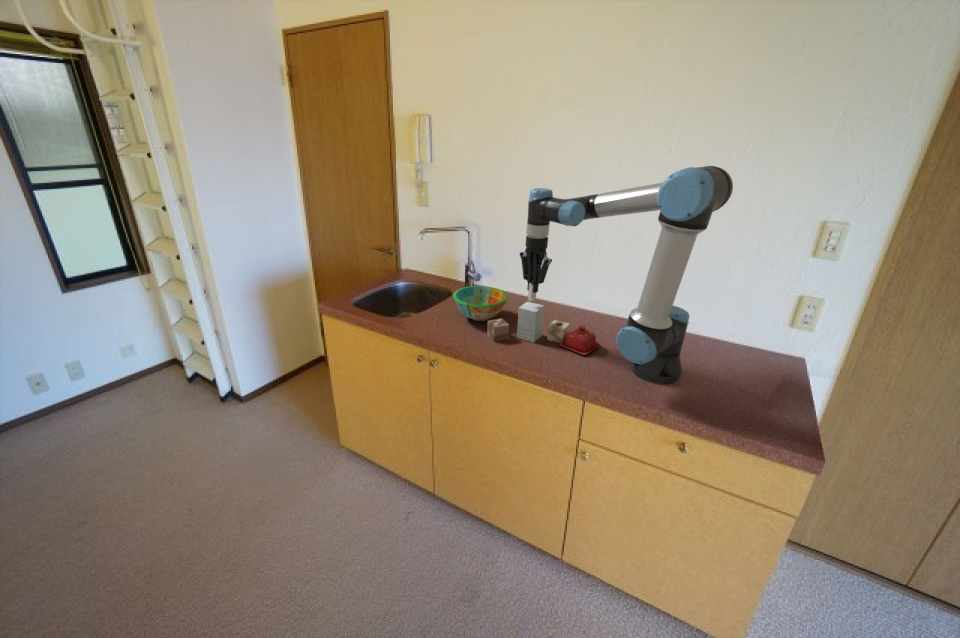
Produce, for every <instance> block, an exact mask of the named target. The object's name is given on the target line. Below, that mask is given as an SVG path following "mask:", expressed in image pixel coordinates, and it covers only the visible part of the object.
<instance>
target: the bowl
mask: <svg viewBox="0 0 960 638" xmlns="http://www.w3.org/2000/svg"><path fill="white" fill-rule="evenodd" d="M452 298H453V300H454V302H455V304H456V305H457V307H458V309H459V311H460V312H461V313H462V314H463V315H464V316H465V317H467V318H468V319H471V320H473V321H476V322H485V321H489V320H491V319H492V318H495V317H496V316H497V315H498V314H499V313H500V312H501V311H502V310H503V308H504V305H506V303H507V301H508V298H509V294H507V292H506V291H504V290H502V289H500V288H497V287H493V286H488V285H487V286H485V285H474V286H473V285H472V286H466V287H465V286H464V287H461V288H460V289H457V290H455V291H454V292H453V294H452Z"/></svg>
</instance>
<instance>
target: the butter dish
mask: <svg viewBox="0 0 960 638" xmlns="http://www.w3.org/2000/svg"><path fill="white" fill-rule="evenodd" d="M559 346H561V347H563V348H566V349H568V350H571V351H572V352H575V353H578V354H580V355H583V356H586V355H588V354H589V353H591V352H592V351H594V350H596V349H597V348H599V347H600V346H601V343H600V342H597V339H596V333H594V332H593V331H591V330H589V329H587V328H586V326H584V325H579V326H578V327H577V328H576V327H575V328H573V329H572V330H569V333H568V334H567V336H566V340H564V341H562V342H561V343H559Z"/></svg>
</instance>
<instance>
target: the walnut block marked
mask: <svg viewBox="0 0 960 638" xmlns="http://www.w3.org/2000/svg"><path fill="white" fill-rule="evenodd" d="M486 333H487V336H488V337H489V338H490V339H491V340H492V341H493V342H494V341H495V342H500V341H499V340H501V341H505V339H506V340H509V333H510V324H509V323H508V322H507V321H506V320H504V319H503V318H496V319H489V320H487V331H486Z"/></svg>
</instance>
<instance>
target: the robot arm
mask: <svg viewBox="0 0 960 638" xmlns="http://www.w3.org/2000/svg"><path fill="white" fill-rule="evenodd" d="M733 188H734V183H733V179H732V177H731V175H730V173H729V172H728V171H726V170H725V169H724V168H722V167H719V166H715V165H705V166H699V167H693V166H691V167H686V168H683V169H680V170H677V171H675V172H673V173H672V174H670V175H668V177H667V178H665V180H664V181H663V182H659V183H651V184H647V185H642V186H636V187H631V188H626V189H625V188H624V189H619V190H613V191H608V192H604V193H603V192H602V193H597V194H596V193H595V194H591V195H589V194H588V195H584V196H579V197H574V198H573V197H571V198H566V199H565V198H559V197H554V195H553V190H552V189H549V188H542V187H536V188H532V189H531V190H530V191H529V194H528V195H529V197H528V201H527V202H528V205H527V206H528V208H527V220H526V221H527V222H526V223H527V224H526V233H525V234H526V237H525V247H526V248H525V251H521V252H519V256H520V259H521V267H522V278H523V280H526V282H527V287H526V288H527V291H528V294H527V295H528V296H527V301H528V302H534V301H535V300H537V293H538V292H539V285H541V284H543V283H544V282H545V280H546V277H547V274H548V273H547V272H548V271H549V268H550V267H549V266H550V265H551V263H552V262H553V259H552V258H549V257H548V256H547V255H548V253H547V248H548V245H549V244H548V243H549V237H548V236H549V233H550V223H551V222H552V223H555V224H560V225H563V226H566V227H578V226H579V225H580V224H581V223H582V222H583V221H586V220H591V219H600V218H606V217H614V216H622V215H623V216H624V215H632V214H641V213H646V212H647V213H649V212H655V211H656V212H657V211H659V215H658V218H657V221H658V223H659V224H660V226H661V229H660V233H659V235H658V240H657V243H656V246H655V249H654V253H653V255H652V259H651V262H650V265H649V269H648V272H647V275H646V279H645V282H644V285H643V288H642V291H641V295H640V298H639V301H638V303H637V304H638V305H637V307H635V308H632V310H630V312H629V315H628V318H627V321H626V324H625V326H624V327H622V328H620V330H619V331H618V332H617V334H616V337H615V344H616V347H617V349H618V350H619V352H620V354H621V356H622V357H623V358H624V359H626V360H627V361H629V362H631V370H632V372H633V373H634V374H635V375H636V376H637V377H639V378H641V379H642V380H645V381H647V382H650V383H652V384H659V385H671V384H676V383H678V381H680V379H681V376H682V372H683V371H682V370H683V369H682V363H681V361H682V360H681V352H682V349H683V344H684V340H685V337H686V336H685V335H686V333H687V329H688V325H689V323H690V322H689V320H690V314H689V312H688V311H687V310H685V309H684V308H681V306H680V307H679V306H676V305H674V302H675V300H676V297H677V293H678V291H679V288H680V285H681V283H682V279H683V276H684V273H685V271H686V268H687V265H688V263H689V260H690V257H691V254H692V252H693V249H694V246H695V244H696V243H695V242H696V240H697V237H698V235H699V234H702V233H703V232H704V231H706V230H707V229H708V226H709V224H710V221H711V218H712V215H713V212H716V211H718V210H720V209H721V208H722V207H724V205H726V204H727V203H728V202H729V200H730V198H731V196H732V194H733Z"/></svg>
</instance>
